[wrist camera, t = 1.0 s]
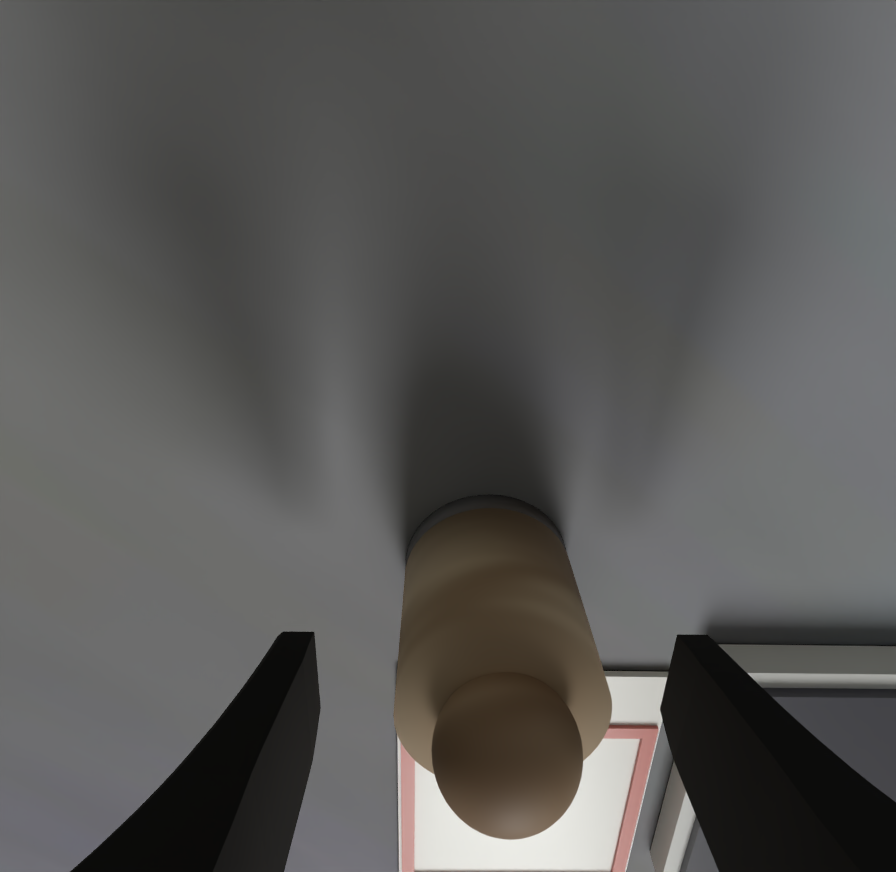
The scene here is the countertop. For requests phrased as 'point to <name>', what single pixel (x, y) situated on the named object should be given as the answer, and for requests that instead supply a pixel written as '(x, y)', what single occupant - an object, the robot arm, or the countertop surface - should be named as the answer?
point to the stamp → (497, 666)
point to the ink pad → (819, 710)
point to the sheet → (579, 829)
